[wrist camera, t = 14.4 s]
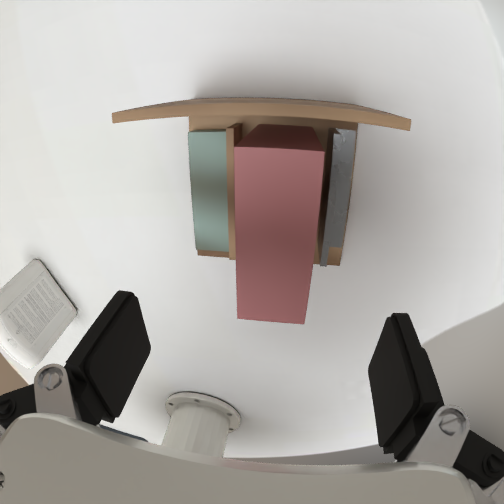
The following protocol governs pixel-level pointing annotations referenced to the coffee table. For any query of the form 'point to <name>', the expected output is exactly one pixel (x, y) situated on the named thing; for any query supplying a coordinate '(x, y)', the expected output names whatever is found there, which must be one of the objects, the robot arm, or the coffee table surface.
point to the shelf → (229, 135)
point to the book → (276, 220)
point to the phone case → (122, 433)
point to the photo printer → (32, 314)
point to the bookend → (336, 190)
